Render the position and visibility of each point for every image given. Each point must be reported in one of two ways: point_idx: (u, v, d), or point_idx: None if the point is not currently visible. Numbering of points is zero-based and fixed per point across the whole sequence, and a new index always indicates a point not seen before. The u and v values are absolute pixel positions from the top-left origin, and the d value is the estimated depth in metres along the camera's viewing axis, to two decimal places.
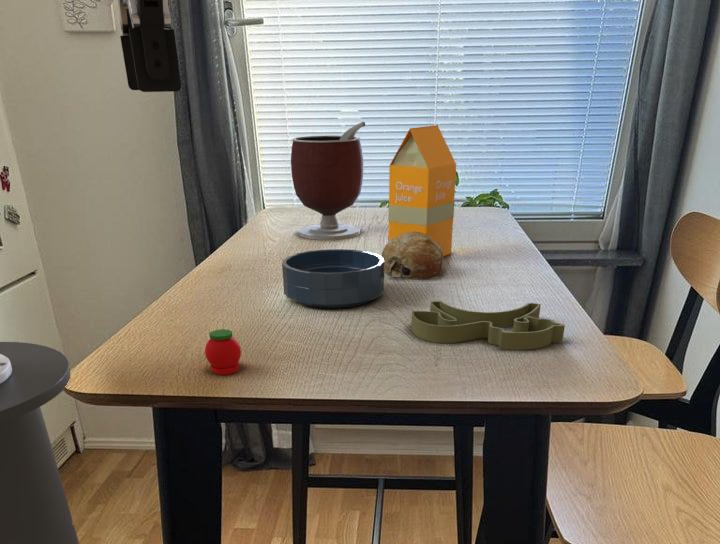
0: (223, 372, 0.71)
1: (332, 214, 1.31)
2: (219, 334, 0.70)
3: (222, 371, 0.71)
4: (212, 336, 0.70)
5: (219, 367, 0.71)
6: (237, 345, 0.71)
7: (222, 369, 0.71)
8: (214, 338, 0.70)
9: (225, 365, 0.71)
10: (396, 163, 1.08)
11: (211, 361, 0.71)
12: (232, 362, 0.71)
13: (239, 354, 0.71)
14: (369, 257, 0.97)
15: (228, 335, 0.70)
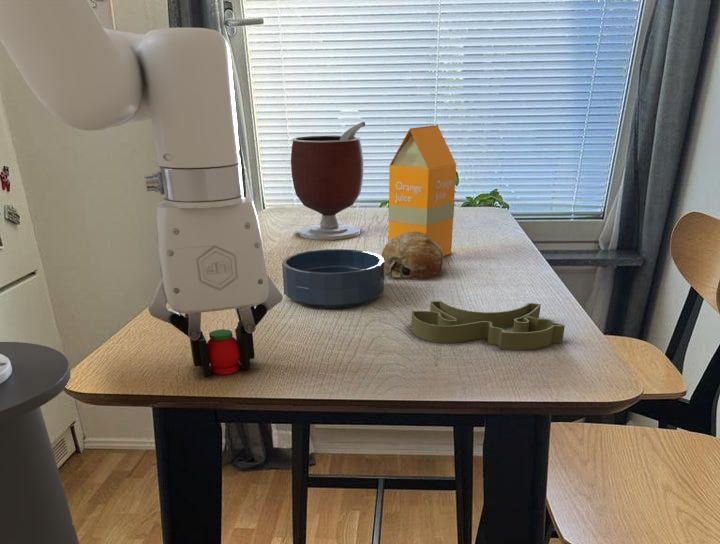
0: (223, 372, 0.71)
1: (332, 214, 1.31)
2: (219, 334, 0.70)
3: (222, 371, 0.71)
4: (212, 336, 0.70)
5: (219, 367, 0.71)
6: (237, 345, 0.71)
7: (222, 370, 0.71)
8: (214, 338, 0.70)
9: (225, 365, 0.71)
10: (396, 163, 1.08)
11: (211, 361, 0.71)
12: (232, 362, 0.71)
13: (239, 354, 0.71)
14: (369, 257, 0.97)
15: (228, 335, 0.70)
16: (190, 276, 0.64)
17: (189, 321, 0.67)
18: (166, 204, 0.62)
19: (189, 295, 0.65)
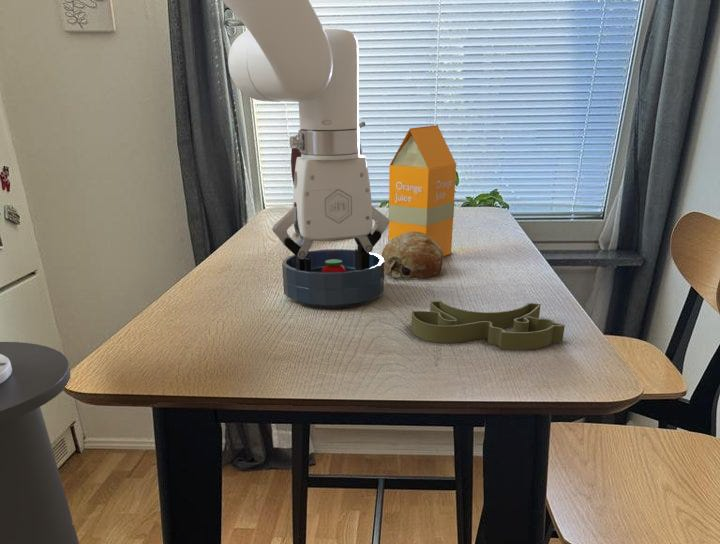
0: None
1: None
2: (333, 262, 0.93)
3: None
4: (328, 263, 0.93)
5: None
6: (346, 271, 0.94)
7: None
8: (329, 264, 0.93)
9: None
10: (396, 163, 1.08)
11: None
12: None
13: None
14: (369, 257, 0.97)
15: (340, 262, 0.93)
16: (319, 212, 0.87)
17: (303, 243, 0.90)
18: (305, 158, 0.85)
19: (317, 226, 0.88)
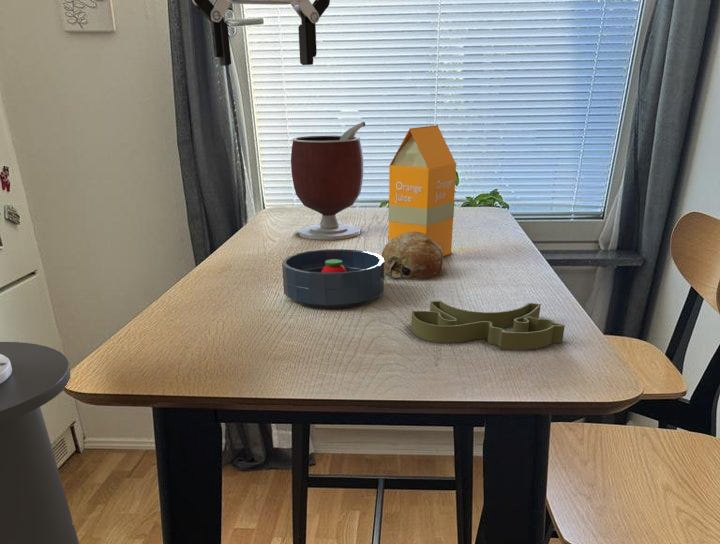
0: None
1: (332, 214, 1.31)
2: (333, 262, 0.93)
3: None
4: (328, 263, 0.93)
5: None
6: (346, 271, 0.94)
7: None
8: (329, 264, 0.93)
9: None
10: (396, 163, 1.08)
11: None
12: None
13: None
14: (369, 257, 0.97)
15: (340, 262, 0.93)
16: None
17: (219, 0, 0.72)
18: None
19: None
